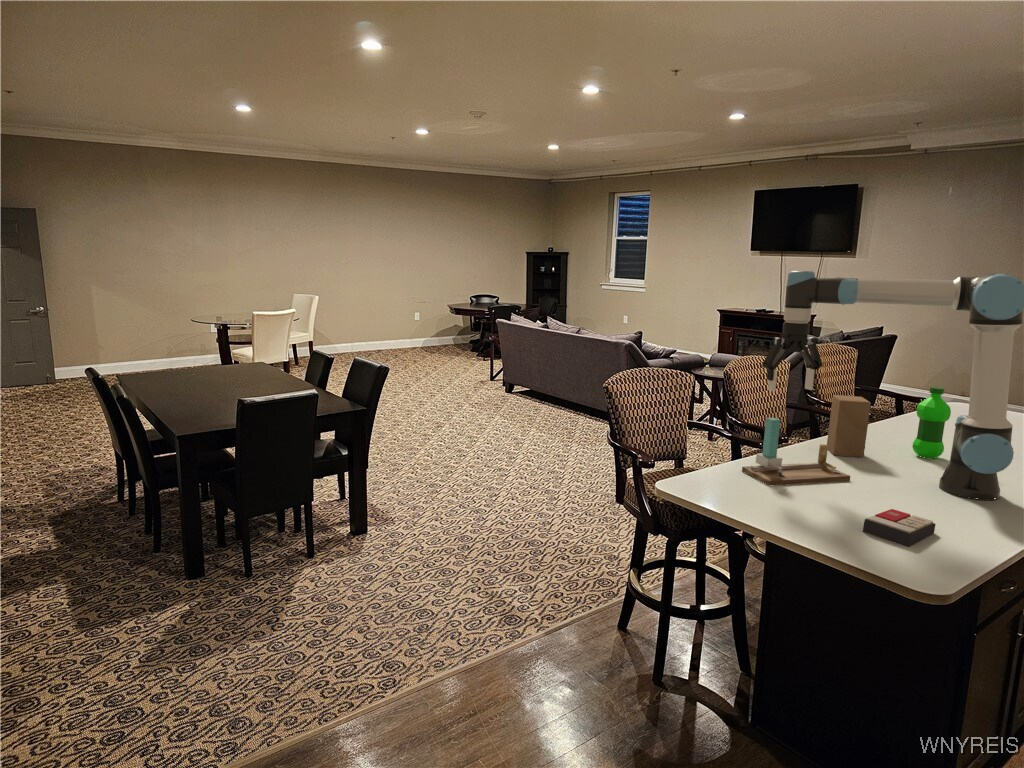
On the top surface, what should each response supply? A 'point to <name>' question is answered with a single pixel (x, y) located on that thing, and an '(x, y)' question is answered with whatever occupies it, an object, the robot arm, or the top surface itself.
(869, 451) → the top surface
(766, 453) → the sliding lever
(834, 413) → the wooden block
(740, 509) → the top surface
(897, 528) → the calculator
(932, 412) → the plastic bottle
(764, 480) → the hole plate
